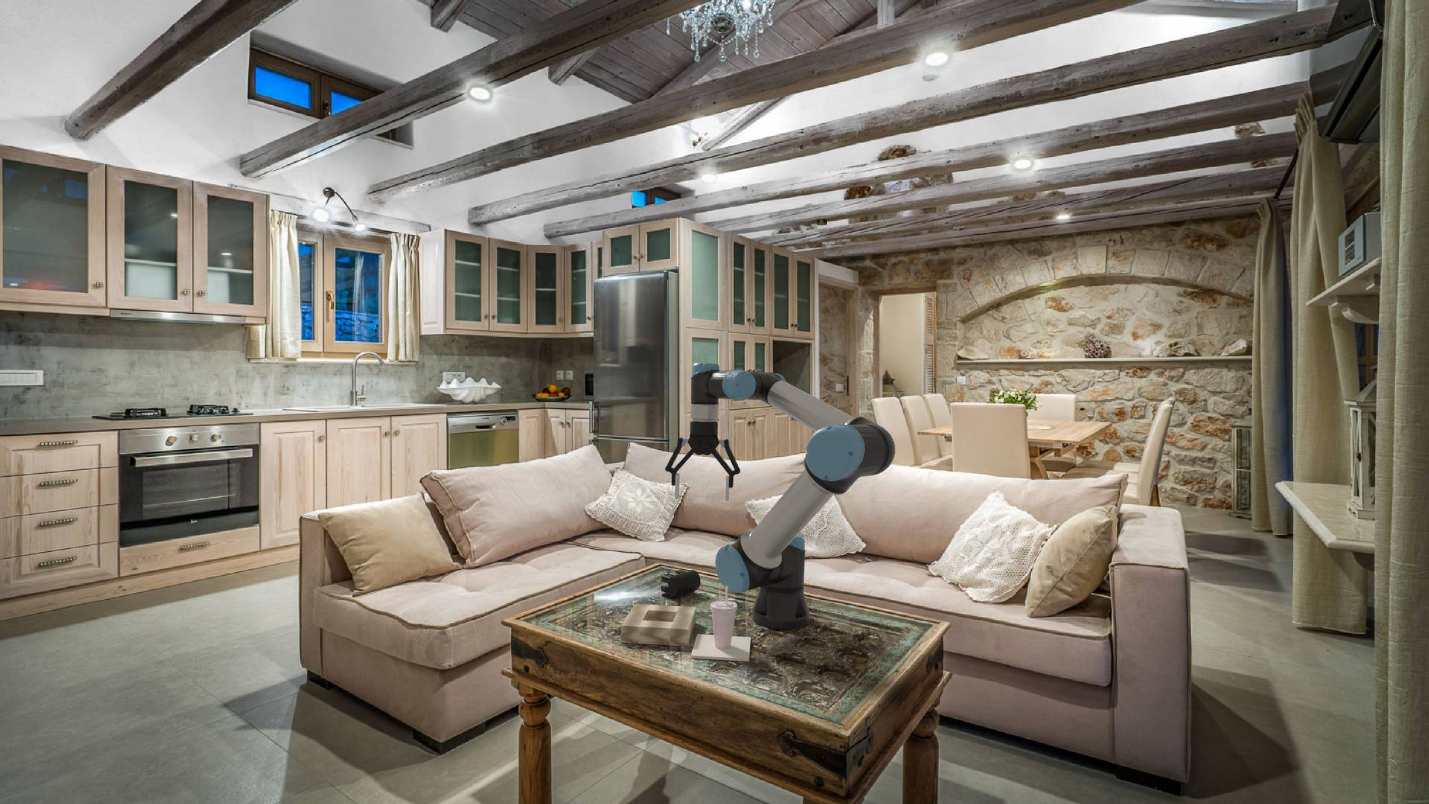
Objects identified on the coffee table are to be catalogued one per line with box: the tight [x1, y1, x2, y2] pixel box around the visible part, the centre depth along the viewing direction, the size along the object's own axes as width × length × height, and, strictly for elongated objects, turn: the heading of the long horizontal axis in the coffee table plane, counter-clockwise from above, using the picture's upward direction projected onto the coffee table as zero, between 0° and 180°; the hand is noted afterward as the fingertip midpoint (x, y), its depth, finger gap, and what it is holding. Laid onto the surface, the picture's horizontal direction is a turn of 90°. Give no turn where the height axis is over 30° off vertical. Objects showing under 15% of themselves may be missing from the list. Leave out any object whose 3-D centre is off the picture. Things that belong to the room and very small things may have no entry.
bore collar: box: [620, 603, 697, 647], centre depth 161 cm, size 16×16×4 cm
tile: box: [690, 633, 751, 663], centre depth 152 cm, size 13×13×1 cm
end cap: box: [660, 569, 702, 600], centre depth 191 cm, size 10×7×7 cm
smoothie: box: [709, 586, 738, 649], centre depth 152 cm, size 6×6×14 cm
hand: (702, 499), depth 176 cm, fingers open, 13 cm apart
